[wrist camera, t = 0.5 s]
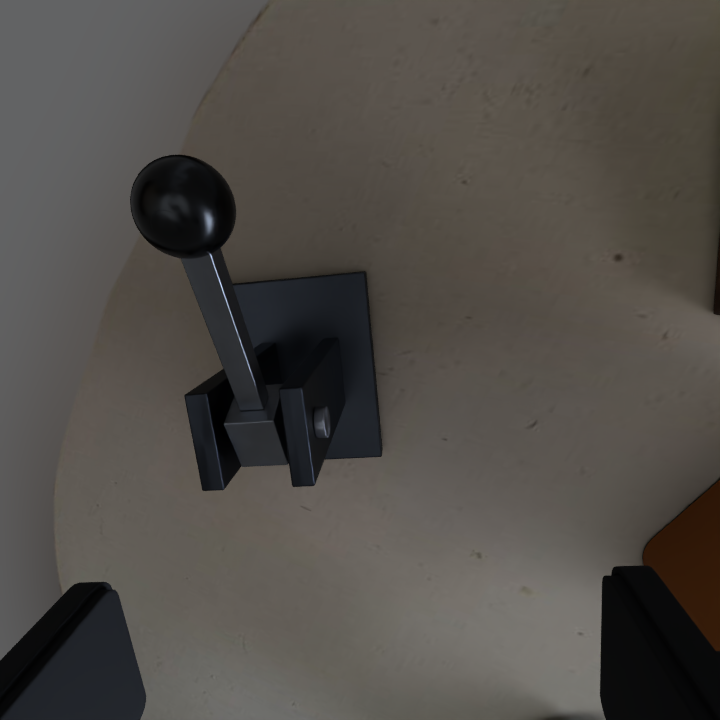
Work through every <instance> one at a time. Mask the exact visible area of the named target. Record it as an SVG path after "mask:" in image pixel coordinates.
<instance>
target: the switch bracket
mask: <svg viewBox="0 0 720 720" xmlns="http://www.w3.org/2000/svg"><path fill="white" fill-rule="evenodd" d="M232 285H233V288H234V291H235V294H236V297H237V300H238V303H239V306H240V309H241V312H242V315H243V318H244V321H245V324H246V327H247V330H248V333H249V336H250V339H251V342H252V345H253V349H254V352H255V355H256V358H257V361H258V364H259V367H260V370H261V373H262V376H263V379H264V382H265V385H274V384H283V385H282V386H281V387H280V388H279V397H280V404H281V411H282V418H283V425H284V431H285V438H286V445H287V452H288V459H289V466H290V473H291V480H292V486H293V487H301V486H314V485H315V483H316V480H317V478H318V475H319V472H320V470H321V467H322V464H323V462H324V459H344V458H365V457H381V456H382V449H383V448H382V438H381V427H380V416H379V405H378V394H377V383H376V372H375V362H374V351H373V340H372V329H371V318H370V307H369V296H368V286H367V275H366V271H363V272H352V273H341V274H331V275H320V276H310V277H299V278H288V279H278V280H267V281H257V282H246V283H235V284H232ZM233 398H234V394H233V391H232V389H231V386H230V384H229V381H228V378H227V376H226V373H225V371H224V369H223V370H221V371H220V372H218V373H217V374H215V375H214V376H212V377H211V378H209V379H208V380H206V381H205V382H203V383H202V384H200V385H199V386H197V387H196V388H194V389H193V390H191V391H190V392H188V393H187V394H186V395H185V402H186V407H187V412H188V417H189V423H190V428H191V433H192V438H193V443H194V449H195V454H196V459H197V464H198V469H199V475H200V480H201V485H202V490H203V491H211V490H224V489H225V488H226V486H227V485H228V484H229V482H230V481H231V480H232V478H233V477H234V475H235V474H236V473H237V471H238V470H239V469H240V467H241V464H240V461H239V459H238V457H237V454H236V452H235V450H234V447H233V445H232V443H231V440H230V438H229V436H228V433H227V431H226V429H225V426H224V421H225V419H226V416H227V414H228V411H229V408H230V406H231V403H232V401H233Z"/></svg>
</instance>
